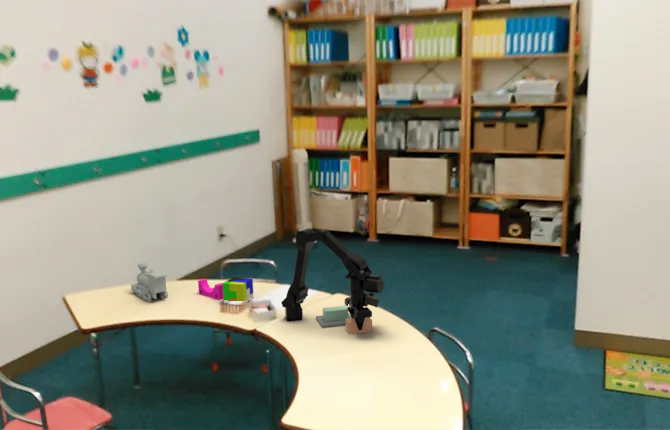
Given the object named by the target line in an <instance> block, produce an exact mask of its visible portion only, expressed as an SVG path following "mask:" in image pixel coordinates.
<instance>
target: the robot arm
mask: <svg viewBox="0 0 670 430" xmlns="http://www.w3.org/2000/svg"><path fill="white" fill-rule="evenodd" d="M318 241H321V243H323V244H324V245H325V246H326V247H327V248H328V249H329V250H330V251H331V252H332V253H333V254H335V256H337V257H338V258H339V260H341V262H342V264H343V266H344V268H345V269H346V270H347V271H348V272H347V274H346V275H345V276H344V278H345V279H349V287H350V288H349V289H350V290H349V291H348V294H349V297H346V298H345V299H344V306H346V307H347V309H348V313H349V314H350V316H351V318H354V319H355V322H356V325H357V327H358V330H362V327H363V323H364V320H365V318H367V317H370V318H372V317H373V311H372V310H371V309H370V308H369V307H368V306H372V307H374V308H378V306H379V305H380V304H379V303H380V301H381V300H380V298H378V297H377V296H376V295H374V293H375V294H382V293H383V291H384V289H385V288H384V287H385V282H384V279H383V278H382V275H379V274H378V275H377V274H373V271H372V270H371V269H370V267H369V266H368V264H367V260H366V259H365V257H364V258H363V257H362V256H361V255H359V254H357V253H355V252H352V251H350V250H349V248H348V247H346V246H345V245H344V244H343V243H342V242H341V241H340V240H339V239H338V238H337V237H335V236H334V234H332V233H331V231H330V230H329V229H328V228H327V229H326V228H325V229H324V228H323V229H313V228H312V227H309V228H305V229H302V230H300V231H298V232H297V233H295V245H296V249H297V253H296V259H295V260H296V261H295V266H294V271H293V272H294V273H293V279H292V283H291V284H290V286H289V288H288V290H287V293H286V295H285V298H284V299H283V300H282V301H281V305H282V308H284V311H285V312H284V313H285V315H284V319H285V321H286V322H287V323H288V322H290V323H291V322H299V321H303V308H302V304H303V303H304V301H305V300H306V298H307V297H308V296H309V295H308V293H309V289H310V288H309V286H306V284H305V283H306V277H307V270H308V265H309V264H308V263H309V257H310V251H311V249H312V248H313V247H314V245H315V242H318Z"/></svg>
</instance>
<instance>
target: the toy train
mask: <svg viewBox="0 0 670 430" xmlns="http://www.w3.org/2000/svg"><path fill="white" fill-rule="evenodd" d="M148 266H149V265H148V264H147V262H139V263H138V264H137V267H138V269H139V270H140V273H138V274H137V275H136V283H131V284H130V287H131V288H130V289H131V293H133V294H136V295H137V296H138V297H140V298H142V299H143V300H145V301H146V302H148V303H150V302H152V299H154V300H157V294H158V295H160V296H162V297H163V298H165V299H167V298H168V297H169V294H168V291H167V281H166V277H168V275H167V274H166V273H164V272H162V271H155V270H154V269H152V268H151V269H150V270H147V267H148Z"/></svg>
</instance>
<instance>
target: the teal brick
mask: <svg viewBox="0 0 670 430" xmlns="http://www.w3.org/2000/svg"><path fill="white" fill-rule="evenodd" d="M347 307H348V306H346V305H340V306H339V305H337V306H329V307H328V306H327V307H323V308H322V315H323V319H324V321H325V322H332V321H341V320H345V319H348V313H349V311H348V309H347Z"/></svg>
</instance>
